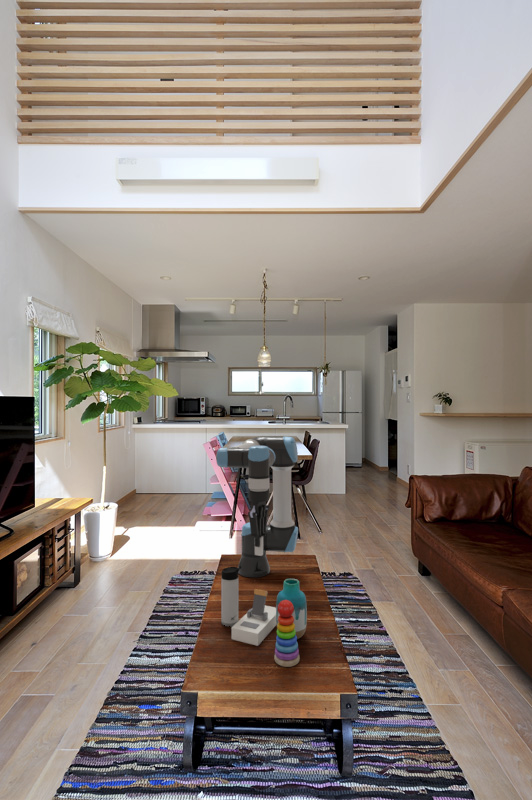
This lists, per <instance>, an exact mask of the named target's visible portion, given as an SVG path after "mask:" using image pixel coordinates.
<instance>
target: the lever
mask: <svg viewBox="0 0 532 800" xmlns="http://www.w3.org/2000/svg"><path fill="white" fill-rule="evenodd" d="M268 593H269V591H268V590H262V589H257V588H256V589H255V588H254V590H253V595H254V596H253V600H252V601H253V602H252V608H251V609H252V612H251V616H255V617H259V618H262V615H263V614H264V608H265V605H266V600H267V597H268Z"/></svg>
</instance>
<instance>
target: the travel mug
mask: <svg viewBox="0 0 532 800" xmlns="http://www.w3.org/2000/svg"><path fill="white" fill-rule="evenodd" d="M238 571H239V568H238V566H228V567H225V568H223V569H222V570H221V576H220V577H221V578H220V579H221V580H220V581H221V584H220V585H221V594H220V595H221V597H220V598H221V601H220V602H221V603H220V604H221V607H220V608H221V611H220V612H221V615H220V617H221V625H223V626H224V625H225V627H229V626H230V627H233V626H234V625H235V624H236V623H237V622H238V621H239V578H240V577H239V573H238Z"/></svg>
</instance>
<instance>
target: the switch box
mask: <svg viewBox="0 0 532 800" xmlns="http://www.w3.org/2000/svg"><path fill="white" fill-rule="evenodd" d="M251 612H252V608H249V609H248V610H247V611H246V614H244V615H243V616H242V617H241V618H240V619H238V622H237V623H236V624H235V625H234V626H231V640H232V641H237V642H242V643H244V644H249V645H254V646H256V647H259V645H260V644H262V641H264V639H266V637H268V636H269V634H270V633H271V632H272V630H273V629H274V628H275V627H277V623H276V606H270V605H266V604H265V608H264V614H263V615H262V618H259V617H255V616H251Z"/></svg>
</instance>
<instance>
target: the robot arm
mask: <svg viewBox="0 0 532 800" xmlns="http://www.w3.org/2000/svg"><path fill="white" fill-rule="evenodd" d="M215 457H216V459H215V460H216V464H217V466H218V467H220V468H235V469H236V468H237V469H240V468H241V469H248V479H247V482H248V489H249V490H247V491H248V494H247V495H248V496H247V497H248V501H249V502H251V510H250V511H248V513H247V515H248V518H249V522H246V523H245V524H243V525H242V527H241V556H240V559H239V563H238V565H237V568H239V571H238V575H239V576H242V577H246V578H263V577H265V576H267V575H269V574H270V571H271V568H270V563H269V561H268V557H267V552H277V553H293V552H294V551H295V550H296V546H297V542H298V536H299V535H298V534H299V527H298V526H296V525H295V521H294V519H292V468H294V467H295V463H297V462H298V460H299V458H298V445H297V442H296V439H295V438H294V437H292V436H286V435H285V436H284V435H282V436H281V435H280V436H279V435H277V436H275V435H270V436H269V435H268V436H266V435H262V436H257V437H255V436H254V437H252V438H248V439H246V440H245V441H243V442H242V443H241V444H238V445H235V446H233V447H220V448H218V449H217V451H216V456H215ZM270 468H271V469H272V513H273V514H272V517H273V518H272V520H271V521H270V522H269V525H268V517H269V515H268V514H269V509H270V505H268V504H267V502H268V501H269V500H270Z"/></svg>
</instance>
